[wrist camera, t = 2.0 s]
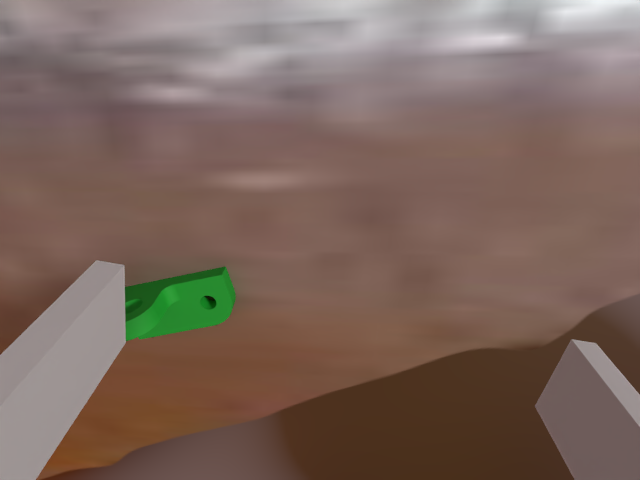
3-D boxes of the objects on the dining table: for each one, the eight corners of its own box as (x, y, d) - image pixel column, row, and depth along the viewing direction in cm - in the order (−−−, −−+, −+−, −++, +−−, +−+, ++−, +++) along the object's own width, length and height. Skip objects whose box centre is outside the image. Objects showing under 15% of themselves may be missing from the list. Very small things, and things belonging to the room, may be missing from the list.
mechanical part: (146, 328, 51) (116, 376, 44) (125, 286, 49) (89, 329, 42) (242, 310, 50) (228, 356, 43) (226, 265, 48) (207, 307, 40)
